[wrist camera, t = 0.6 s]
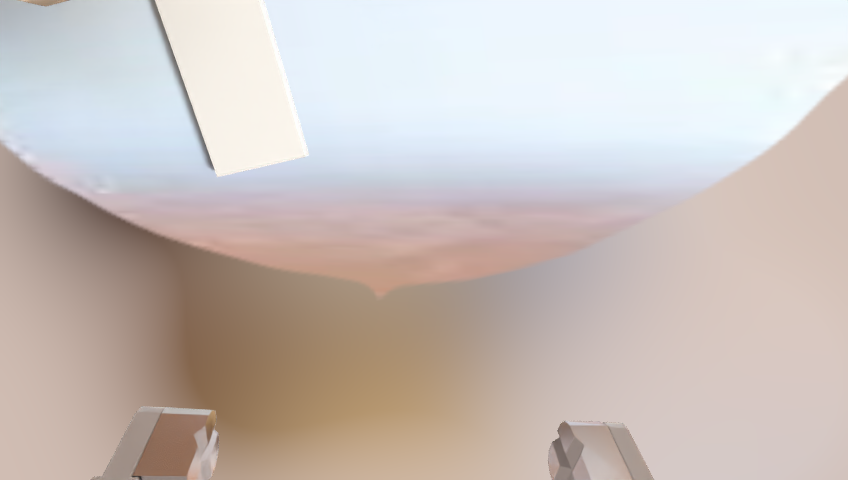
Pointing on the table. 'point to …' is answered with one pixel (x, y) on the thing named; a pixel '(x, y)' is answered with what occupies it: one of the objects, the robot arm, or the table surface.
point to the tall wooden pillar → (44, 2)
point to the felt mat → (234, 82)
